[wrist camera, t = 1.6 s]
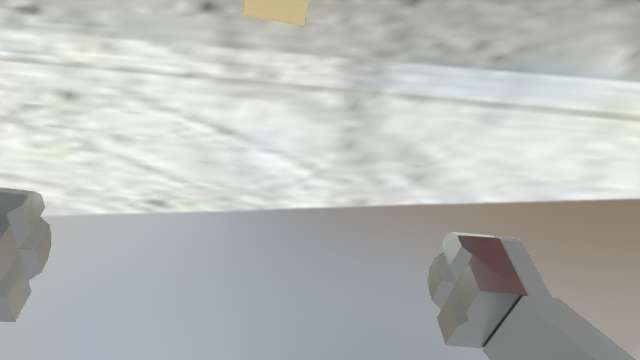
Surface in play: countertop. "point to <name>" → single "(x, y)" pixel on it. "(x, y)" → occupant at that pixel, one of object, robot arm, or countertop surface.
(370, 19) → the countertop surface
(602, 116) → the countertop surface
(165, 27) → the countertop surface
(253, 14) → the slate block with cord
